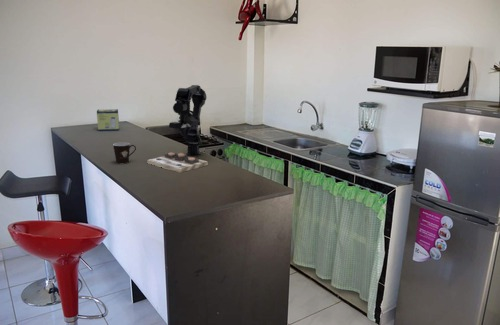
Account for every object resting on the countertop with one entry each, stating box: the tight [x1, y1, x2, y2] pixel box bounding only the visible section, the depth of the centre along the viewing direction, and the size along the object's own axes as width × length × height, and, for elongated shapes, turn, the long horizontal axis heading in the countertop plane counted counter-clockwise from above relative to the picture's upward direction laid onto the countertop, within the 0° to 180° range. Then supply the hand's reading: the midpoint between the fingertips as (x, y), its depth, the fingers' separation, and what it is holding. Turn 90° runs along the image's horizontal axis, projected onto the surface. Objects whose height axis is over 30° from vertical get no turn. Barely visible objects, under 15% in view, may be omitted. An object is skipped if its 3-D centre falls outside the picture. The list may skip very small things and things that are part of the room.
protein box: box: [96, 109, 120, 132], centre depth 297 cm, size 10×16×16 cm
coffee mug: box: [112, 142, 137, 164], centre depth 207 cm, size 12×9×10 cm
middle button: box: [177, 152, 186, 158], centre depth 208 cm, size 4×4×2 cm
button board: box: [146, 152, 209, 174], centre depth 206 cm, size 20×26×4 cm
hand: (185, 139), depth 214 cm, fingers closed
